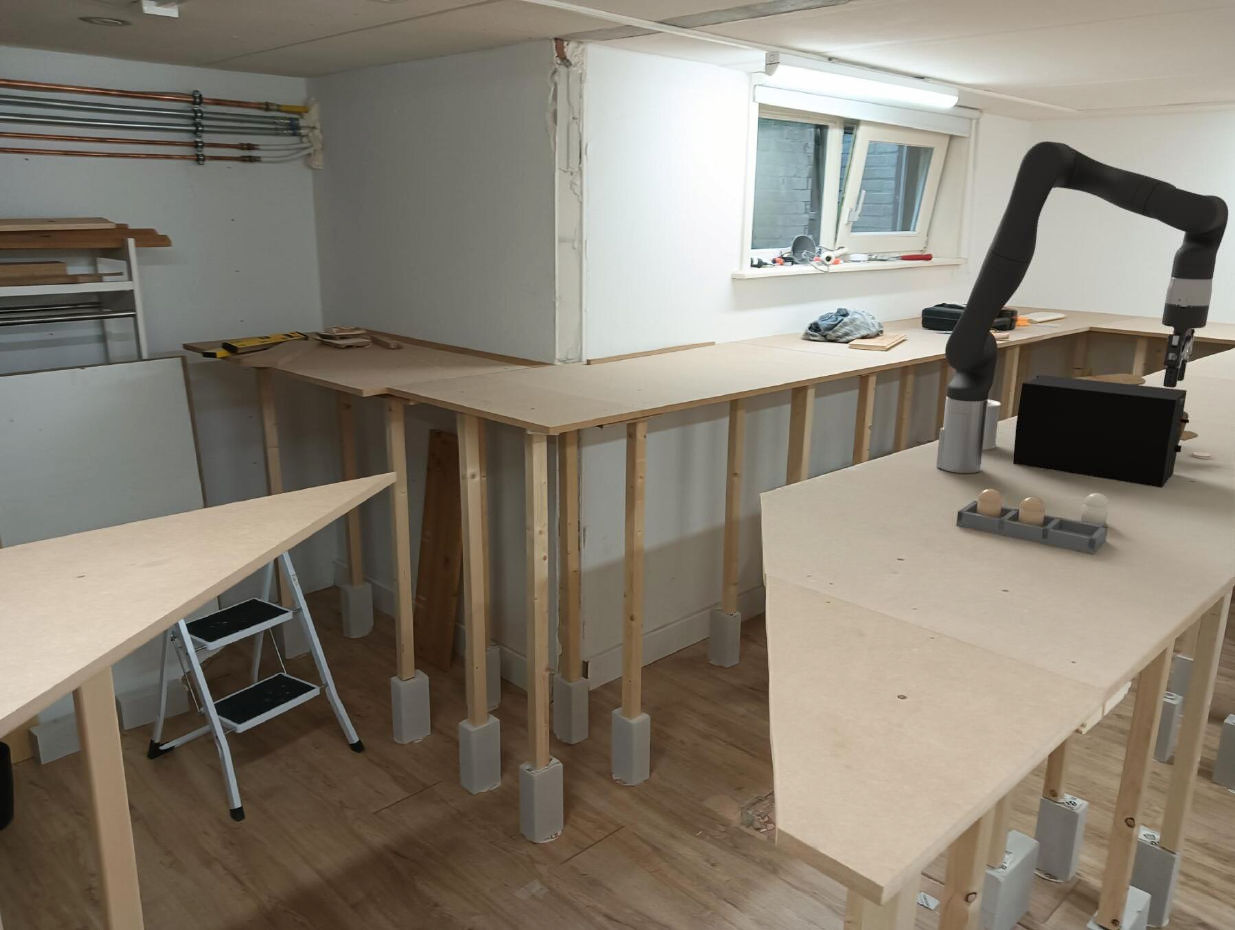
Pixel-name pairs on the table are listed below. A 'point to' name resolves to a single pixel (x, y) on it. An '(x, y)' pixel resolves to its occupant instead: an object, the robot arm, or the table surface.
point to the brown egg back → (989, 503)
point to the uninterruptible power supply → (1099, 429)
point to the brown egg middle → (1032, 511)
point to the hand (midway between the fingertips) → (1173, 383)
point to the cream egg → (1095, 509)
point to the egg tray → (1037, 529)
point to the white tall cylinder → (991, 425)
